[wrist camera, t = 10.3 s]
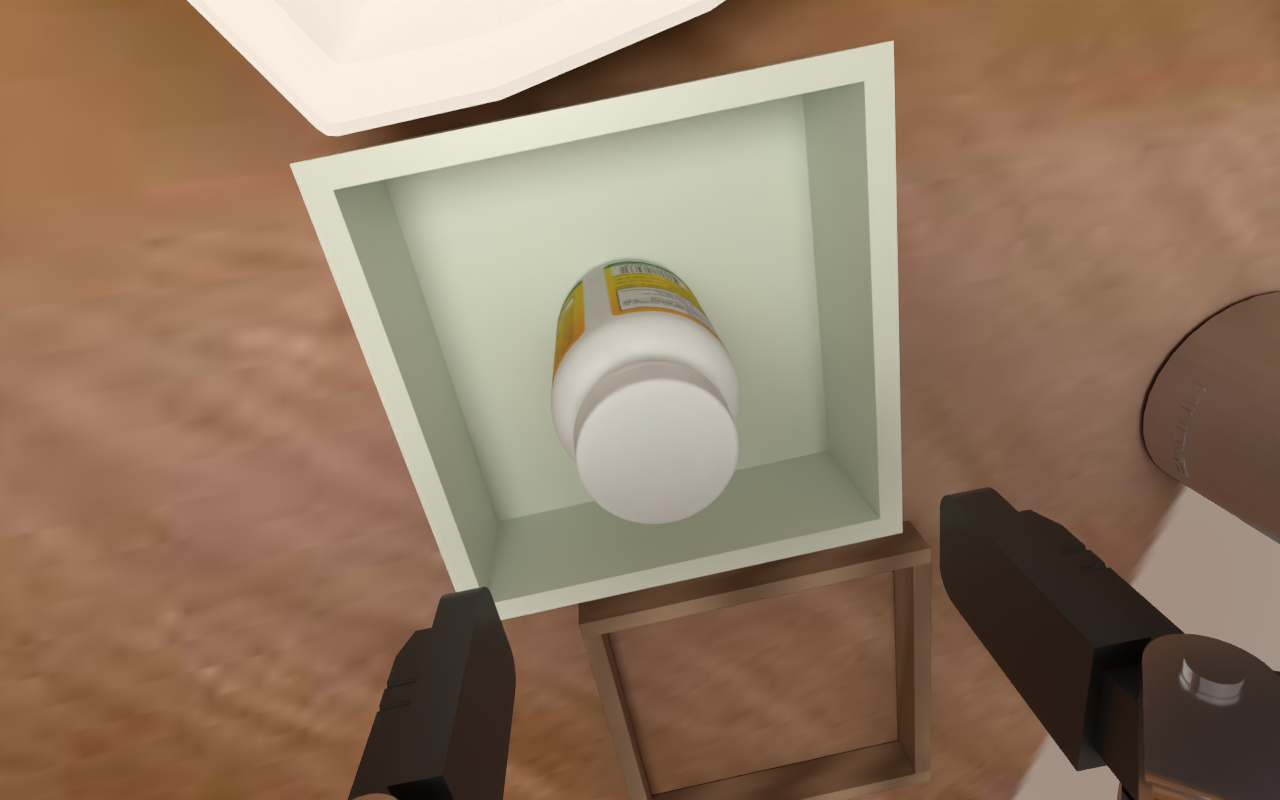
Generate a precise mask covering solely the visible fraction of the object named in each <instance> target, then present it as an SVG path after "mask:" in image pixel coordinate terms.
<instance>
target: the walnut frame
mask: <svg viewBox="0 0 1280 800" xmlns="http://www.w3.org/2000/svg"><path fill="white" fill-rule="evenodd" d="M889 571H894V602H895V640H896V678H897V715H898V741H895V742H891V743H887V744H882V745H878V746H873V747H869V748H864V749H860V750H855V751H851V752H846V753H842V754H837V755H833V756H828V757H824V758H819V759H815V760H810V761H806V762H801V763H797V764H793V765H788V766H784V767H779V768H775V769H770V770H766V771H761V772H757V773H752V774H748V775H743V776H739V777H734V778H730V779H725V780H721V781H716V782H712V783H707V784H703V785H698V786H694V787H690V788H685V789H681V790H676V791H672V792H667V793H663V794H658V795H654V796H651V792H650V788H649V785H648V781H647V777H646V774H645V770H644V766H643V763H642V759H641V755H640V752H639V748H638V744H637V741H636V737H635V733H634V730H633V726H632V722H631V719H630V715H629V711H628V708H627V704H626V700H625V697H624V693H623V689H622V686H621V682H620V678H619V675H618V671H617V667H616V664H615V660H614V656H613V653H612V649H611V645H610V642H609V638H608V634H607V633H611V632H615V631H620V630H624V629H629V628H633V627H638V626H643V625H647V624H652V623H656V622H661V621H665V620H670V619H675V618H679V617H684V616H688V615H693V614H697V613H702V612H707V611H711V610H716V609H720V608H725V607H729V606H734V605H739V604H743V603H748V602H752V601H757V600H761V599H766V598H771V597H775V596H780V595H784V594H789V593H793V592H798V591H803V590H807V589H812V588H816V587H821V586H825V585H830V584H835V583H839V582H844V581H848V580H853V579H857V578H862V577H867V576H871V575H876V574H880V573H885V572H889ZM578 604H579V626H580V630H581V633H582V636H583V640H584V643H585V647H586V650H587V653H588V657H589V660H590V663H591V667H592V670H593V674H594V677H595V680H596V684H597V687H598V691H599V694H600V697H601V701H602V704H603V708H604V711H605V714H606V718H607V721H608V725H609V728H610V731H611V735H612V738H613V741H614V745H615V748H616V752H617V755H618V758H619V762H620V765H621V769H622V772H623V775H624V779H625V782H626V786H627V789H628V792H629V796H630V799H631V800H846V799H850V798H854V797H859V796H863V795H868V794H872V793H877V792H881V791H886V790H890V789H894V788H899V787H903V786H908V785H912V784H917V783H921V782H926V781H930V669H931V547H930V546H929V545H928V544H927V543H926V541H925V540H924V539H923V538H922V536H921V535H920V534H919V533H918V532H917V530H916V529H915V528H914V527H913V525H912V524H911V523H910V522H905V523H903V533H899V534H894V535H890V536H885V537H881V538H876V539H871V540H867V541H862V542H858V543H853V544H848V545H844V546H839V547H835V548H830V549H825V550H821V551H816V552H812V553H807V554H803V555H798V556H793V557H789V558H784V559H780V560H775V561H770V562H766V563H761V564H757V565H752V566H747V567H743V568H738V569H734V570H729V571H724V572H720V573H715V574H711V575H706V576H701V577H697V578H692V579H688V580H683V581H679V582H674V583H669V584H665V585H660V586H656V587H651V588H646V589H642V590H637V591H633V592H628V593H623V594H619V595H614V596H610V597H605V598H600V599H596V600H591V601H587V602H582V603H578Z"/></svg>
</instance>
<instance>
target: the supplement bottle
mask: <svg viewBox="0 0 1280 800" xmlns="http://www.w3.org/2000/svg"><path fill="white" fill-rule="evenodd" d="M740 408H741V390H740V383H739V378H738V374H737V371H736V368H735V365H734V363H733V361H732V359H731V357H730V355H729V353H728V351H727V350H726V348H725V346H724V345H723V343H722V341H721V340H720V338H719V336H718V335H717V333H716V331H715V330H714V328H713V326H712V325H711V323H710V321H709V320H708V318H707V316H706V314H705V312H704V311H703V309H702V308H701V306H700V304H699V303H698V301H697V299H696V297H695V296H694V294H693V293H692V291H691V290H690V289H689V287H688V286H687V285H686V284H685V283H684V282H683V281H682V279H681V278H680V277H678V276H677V275H676V274H675V273H673V272H672V271H670V270H669V269H667V268H665V267H663V266H661V265H658V264H656V263H652V262H649V261H645V260H638V259H623V260H617V261H612V262H609V263H606V264H604V265H601V266H599V267H597V268H595V269H593V270H591V271H590V272H588V273H587V274H585V275H584V276H583V277H582V278H581V279H580V280H579V281H577V282H576V284H575V285H574V286H573V287H572V288H571V290H570V291H569V293H568V295H567V296H566V298H565V300H564V302H563V305H562V307H561V310H560V313H559V317H558V322H557V331H556V342H555V356H554V368H553V379H552V391H551V412H552V420H553V424H554V428H555V431H556V434H557V436H558V438H559V441H560V443H561V444H562V446H563V448H564V449H565V451H566V452H567V454H568V455H569V456H570V458H571V459H572V460H573V461H574V462H575V463H576V467H577V471H578V474H579V477H580V479H581V482H582V484H583V486H584V487H585V489H586V491H587V492H588V494H589V495H590V496H591V497H592V498H593V499H594V500H595V501H596V502H597V503H598V504H599V505H600V506H601V507H602V508H604V509H605V510H607V511H608V512H610V513H612V514H614V515H615V516H617V517H620V518H622V519H624V520H628V521H632V522H637V523H644V524H663V523H669V522H674V521H678V520H682V519H684V518H687V517H689V516H692V515H693V514H695V513H697V512H699V511H701V510H702V509H704V508H705V507H707V506H708V505H709V504H711V503H712V502H713V501H714V500H715V499H716V498H717V497H718V496H719V495H720V494H721V493H722V492H723V490H724V489H725V487H726V486H727V484H728V483H729V481H730V479H731V477H732V476H733V473H734V471H735V468H736V465H737V461H738V454H739V440H738V433H737V428H736V425H737V421H738V418H739V414H740Z"/></svg>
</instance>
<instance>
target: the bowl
mask: <svg viewBox="0 0 1280 800" xmlns="http://www.w3.org/2000/svg"><path fill="white" fill-rule="evenodd" d="M187 1H188V2H189V3H190V4H191V5H192V6H193V7H194V8H196V9H197V10H198V11H199V12H200V13H201V14H202V15H203V16H204V17H205V18H206V19H207V20H208V21H209V22H210V23H211V24H212V25H213V26H214V27H215V28H216V29H217V30H218V31H219V32H220V33H221V34H222V35H223V36H224V37H225V38H226V39H227V40H228V41H229V42H230V43H231V44H232V45H233V46H234V47H235V48H236V49H237V50H238V51H239V52H240V53H241V54H242V55H243V56H244V57H245V58H246V59H247V60H248V61H249V62H250V63H251V64H252V65H253V66H254V67H255V68H256V69H257V70H258V71H259V72H260V73H261V74H262V75H263V76H264V77H265V78H266V79H267V80H268V81H269V82H270V83H271V84H272V85H273V86H274V87H275V88H276V89H277V90H278V91H279V92H280V93H281V94H282V95H283V96H284V97H285V98H286V99H287V100H288V101H289V102H290V103H291V104H292V105H293V106H294V107H295V108H296V109H297V110H298V111H299V112H300V113H301V114H302V115H303V116H304V117H305V118H306V119H307V120H308V121H309V122H310V123H311V124H312V125H313V126H314V127H315V128H316V129H318V130H319V131H321V132H322V133H324V134H325V135H327V136H342V135H346V134H351V133H355V132H360V131H364V130H369V129H373V128H377V127H382V126H386V125H391V124H395V123H400V122H404V121H409V120H413V119H418V118H422V117H427V116H431V115H436V114H440V113H445V112H449V111H454V110H458V109H463V108H467V107H472V106H476V105H481V104H485V103H490V102H494V101H499V100H502V99H504V98H506V97H509V96H511V95H514V94H516V93H518V92H521V91H523V90H525V89H528V88H530V87H532V86H535V85H537V84H539V83H542V82H544V81H546V80H549V79H551V78H553V77H556V76H558V75H560V74H563V73H565V72H567V71H570V70H572V69H575V68H577V67H579V66H582V65H584V64H586V63H589V62H591V61H593V60H596V59H598V58H600V57H603V56H605V55H607V54H610V53H612V52H614V51H617V50H619V49H621V48H624V47H626V46H629V45H631V44H633V43H636V42H638V41H640V40H643V39H645V38H647V37H650V36H652V35H654V34H657V33H659V32H661V31H664V30H666V29H668V28H671V27H673V26H675V25H678V24H680V23H683V22H685V21H687V20H690V19H692V18H694V17H697V16H699V15H701V14H704V13H706V12H708V11H710V10H712V9H713V8H715V7H716V6H718V5H719V4H721V3H722V2H724V1H725V0H187Z"/></svg>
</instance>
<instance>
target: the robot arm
mask: <svg viewBox="0 0 1280 800" xmlns="http://www.w3.org/2000/svg"><path fill="white" fill-rule="evenodd" d="M1143 435H1144V439H1145V444H1146V448H1147V451H1148V452H1149V454H1150V456H1151V458H1152V459H1153V461H1154V463H1155V464H1156V465H1158V466H1159V467H1160V468H1161V469H1162V470H1163V471H1164V472H1165V473H1167V474H1168V475H1170V476H1172V477H1173V478H1175V479H1176V480H1178V481H1180V482H1181V483H1183V484H1185V485H1186V486H1188V487H1189V488H1191V489H1193V490H1194V491H1196V492H1197V493H1199V494H1201V495H1202V496H1204V497H1206V498H1207V499H1209V500H1210V501H1212V502H1214V503H1215V504H1217V505H1218V506H1220V507H1222V508H1223V509H1225V510H1227V511H1228V512H1230V513H1231V514H1233V515H1235V516H1236V517H1238V518H1239V519H1241V520H1242V521H1244V522H1245V523H1247V524H1248V525H1250V526H1252V527H1253V528H1255V529H1256V530H1258V531H1260V532H1261V533H1263V534H1265V535H1266V536H1268V537H1270V538H1271V539H1273V540H1274V541H1276V542H1278V543H1279V544H1280V292H1274V293H1269V294H1265V295H1260V296H1255V297H1253V298H1250V299H1248V300H1245V301H1243V302H1240V303H1238V304H1235V305H1233V306H1231V307H1230V308H1228V309H1226V310H1225V311H1223V312H1221V313H1219V314H1218V315H1216V316H1214V317H1213V318H1211V319H1210V320H1208V321H1207V322H1206V323H1205V324H1204V325H1202V326H1201V327H1200V328H1199V329H1197V330H1196V331H1195V332H1194V333H1192V334H1191V335H1190V336H1189V337H1188V338H1187V339H1186V340H1185V341H1184V342H1183V344H1182V345H1181V346H1180V347H1179V348H1178V349H1177V350H1176V351H1175V352H1174V353H1173V354H1172V356H1171V357H1170V359H1169V360H1168V362H1167V363H1166V365H1165V366H1164V367H1163V369H1162V370H1161V372H1160V373H1159V375H1158V377H1157V379H1156V381H1155V383H1154V385H1153V388H1152V390H1151V392H1150V394H1149V397H1148V401H1147V405H1146V408H1145V412H1144V422H1143ZM940 572H941V577H942V581H943V584H944V587H945V589H946V592H947V594H948V596H949V598H950V600H951V601H952V603H953V604H954V606H955V607H956V608H957V610H958V611H959V612H960V614H961V615H962V616H963V618H964V619H965V620H966V622H967V623H968V624H969V626H970V627H971V629H972V630H973V631H974V633H975V634H976V635H977V637H978V638H979V639H980V641H981V642H982V643H983V645H984V646H985V647H986V649H987V650H988V651H989V653H990V654H991V656H992V657H993V658H994V660H995V661H996V662H997V664H998V665H999V666H1000V668H1001V669H1002V670H1003V672H1004V673H1005V674H1006V676H1007V677H1008V679H1009V680H1010V681H1011V683H1012V684H1013V685H1014V687H1015V688H1016V689H1017V691H1018V692H1019V693H1020V695H1021V696H1022V697H1023V699H1024V700H1025V702H1026V703H1027V704H1028V706H1029V707H1030V708H1031V710H1032V711H1033V712H1034V714H1035V715H1036V716H1037V718H1038V719H1039V720H1040V722H1041V723H1042V725H1043V726H1044V727H1045V729H1046V730H1047V731H1048V733H1049V734H1050V735H1051V737H1052V738H1053V739H1054V741H1055V742H1056V743H1057V745H1058V746H1059V748H1060V749H1061V750H1062V752H1063V753H1064V754H1065V755H1066V757H1067V758H1068V760H1069V761H1070V762H1071V764H1072V765H1073V766H1074V768H1075V769H1076V771H1081V770H1085V769H1091V768H1096V767H1100V766H1106V765H1107V766H1108V767H1109V768H1110V769H1111V771H1112V772H1113V773H1114V774H1115V776H1116V777H1117V778H1118V779H1119V781H1120V783H1119V789H1118V796H1117V800H1280V672H1278V671H1273V670H1272V669H1271V668H1270V667H1269V666H1267V665H1266V664H1265V663H1264V662H1263V661H1261V660H1260V659H1258V658H1257V657H1255V656H1254V655H1252V654H1250V653H1249V652H1247V651H1245V650H1243V649H1241V648H1239V647H1237V646H1234V645H1232V644H1230V643H1227V642H1224V641H1221V640H1218V639H1215V638H1211V637H1207V636H1201V635H1195V634H1185V633H1183V632H1182V631H1181V630H1180V629H1179V628H1178V627H1177V626H1176V625H1174V624H1173V623H1172V622H1171V621H1170V620H1169V619H1168V618H1167V617H1165V616H1164V615H1163V614H1162V613H1161V612H1160V611H1159V610H1157V609H1156V608H1155V607H1154V606H1153V605H1152V604H1151V603H1149V602H1148V601H1147V600H1146V599H1145V598H1144V597H1143V596H1142V595H1140V594H1139V593H1138V592H1137V591H1136V590H1135V589H1134V588H1133V587H1131V586H1130V585H1129V584H1128V583H1127V582H1126V581H1125V580H1123V579H1122V578H1121V577H1120V576H1119V575H1118V574H1117V573H1116V572H1114V571H1113V570H1112V569H1111V568H1106V566H1105V563H1104V562H1103V561H1102V560H1101V559H1100V558H1099V557H1097V556H1096V555H1095V554H1094V553H1093V552H1092V551H1091V550H1086V548H1085V545H1084V544H1083V543H1082V542H1080V541H1079V540H1078V539H1077V538H1076V537H1075V536H1074V535H1072V534H1071V533H1070V532H1069V531H1068V530H1067V529H1066V528H1065V527H1063V526H1062V525H1061V524H1059V523H1056V522H1054V521H1052V520H1050V519H1048V518H1046V517H1044V516H1042V515H1040V514H1038V513H1035V512H1033V511H1031V510H1026V511H1021V512H1018V511H1017V510H1016V509H1015V508H1013V507H1012V506H1011V505H1010V504H1009V503H1008V502H1007V501H1006V500H1005V499H1004V498H1003V497H1002V496H1001V495H1000V494H999V493H997V492H996V491H995V490H994V489H992V488H989V487H986V488H981V489H976V490H971V491H966V492H961V493H956V494H951V495H946V496H944V497H943V498H942V500H941V505H940ZM515 687H516V676H515V665H514V659H513V655H512V651H511V648H510V645H509V642H508V639H507V637H506V634H505V631H504V628H503V625H502V622H501V620H500V617H499V614H498V611H497V608H496V606H495V603H494V600H493V597H492V595H491V592H490V590H489V589H488V588H487V587H480V588H475V589H470V590H465V591H460V592H455V593H450V594H445V595H443V596H442V597H441V599H440V602H439V605H438V608H437V612H436V615H435V619H434V622H433V626H432V628H428V629H423V630H418V631H415V633H414V634H413V635H412V636H411V638H410V639H409V640H408V642H407V643H406V644H405V645H404V647H403V648H402V649H401V651H400V652H399V653H398V655H397V656H396V658H395V661H394V664H393V667H392V670H391V673H390V676H389V679H388V682H387V689H385V691H384V693H383V696H382V699H381V702H380V705H379V707H380V711H379V712H377V714H376V717H375V720H374V723H373V726H372V729H371V732H370V735H369V738H368V741H367V744H366V747H365V750H364V753H363V756H362V759H361V762H360V765H359V768H358V771H357V774H356V777H355V780H354V783H353V786H352V789H351V792H350V795H349V798H348V800H503V793H504V784H505V776H506V767H507V758H508V749H509V741H510V732H511V723H512V714H513V705H514V697H515Z"/></svg>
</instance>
